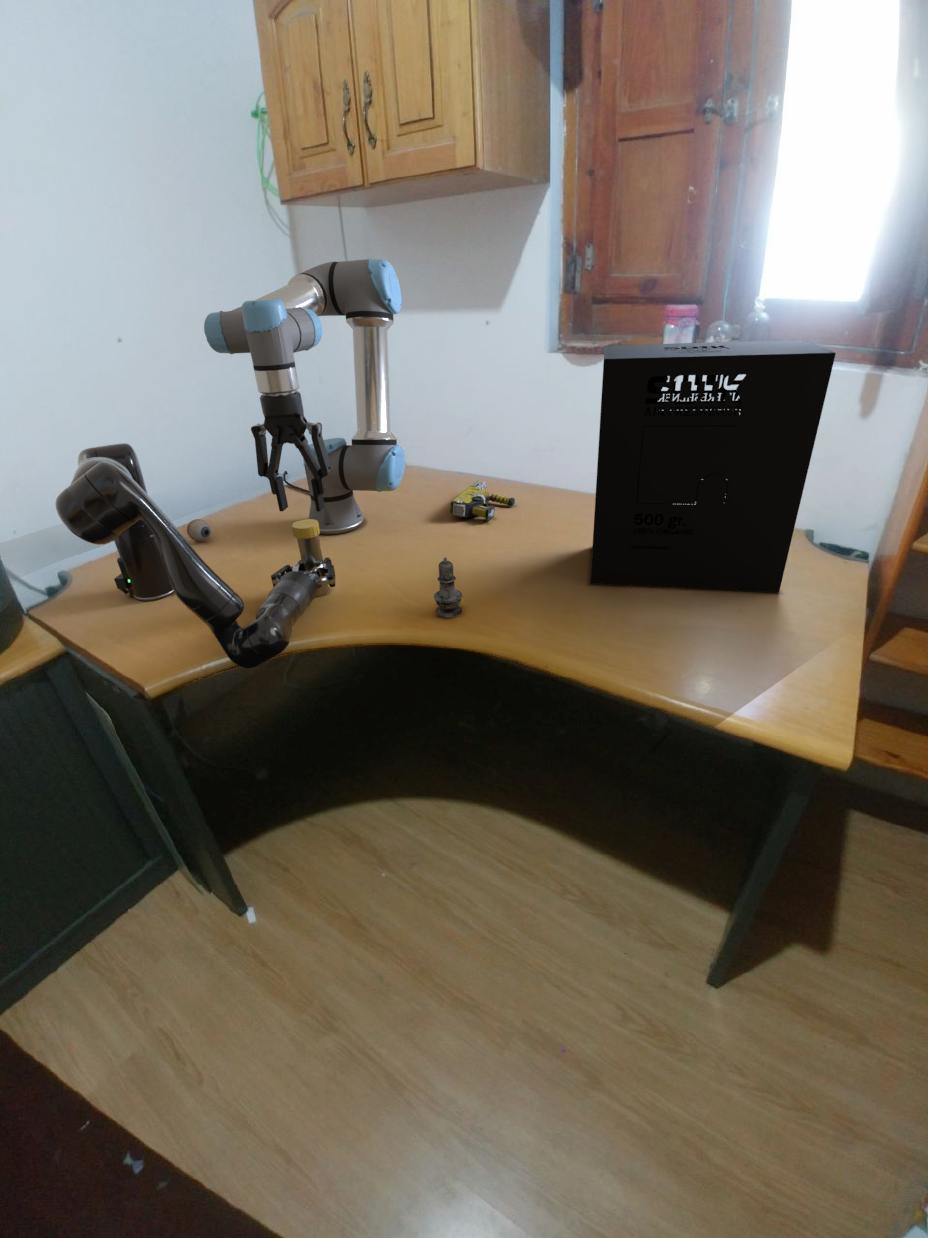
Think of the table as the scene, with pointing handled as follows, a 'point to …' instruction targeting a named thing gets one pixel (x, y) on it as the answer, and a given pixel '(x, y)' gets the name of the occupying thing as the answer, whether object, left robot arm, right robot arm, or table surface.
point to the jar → (311, 557)
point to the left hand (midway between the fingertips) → (317, 561)
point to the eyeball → (199, 530)
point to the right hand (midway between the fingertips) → (302, 508)
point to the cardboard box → (704, 462)
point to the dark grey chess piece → (447, 591)
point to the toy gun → (477, 502)
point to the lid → (306, 528)
